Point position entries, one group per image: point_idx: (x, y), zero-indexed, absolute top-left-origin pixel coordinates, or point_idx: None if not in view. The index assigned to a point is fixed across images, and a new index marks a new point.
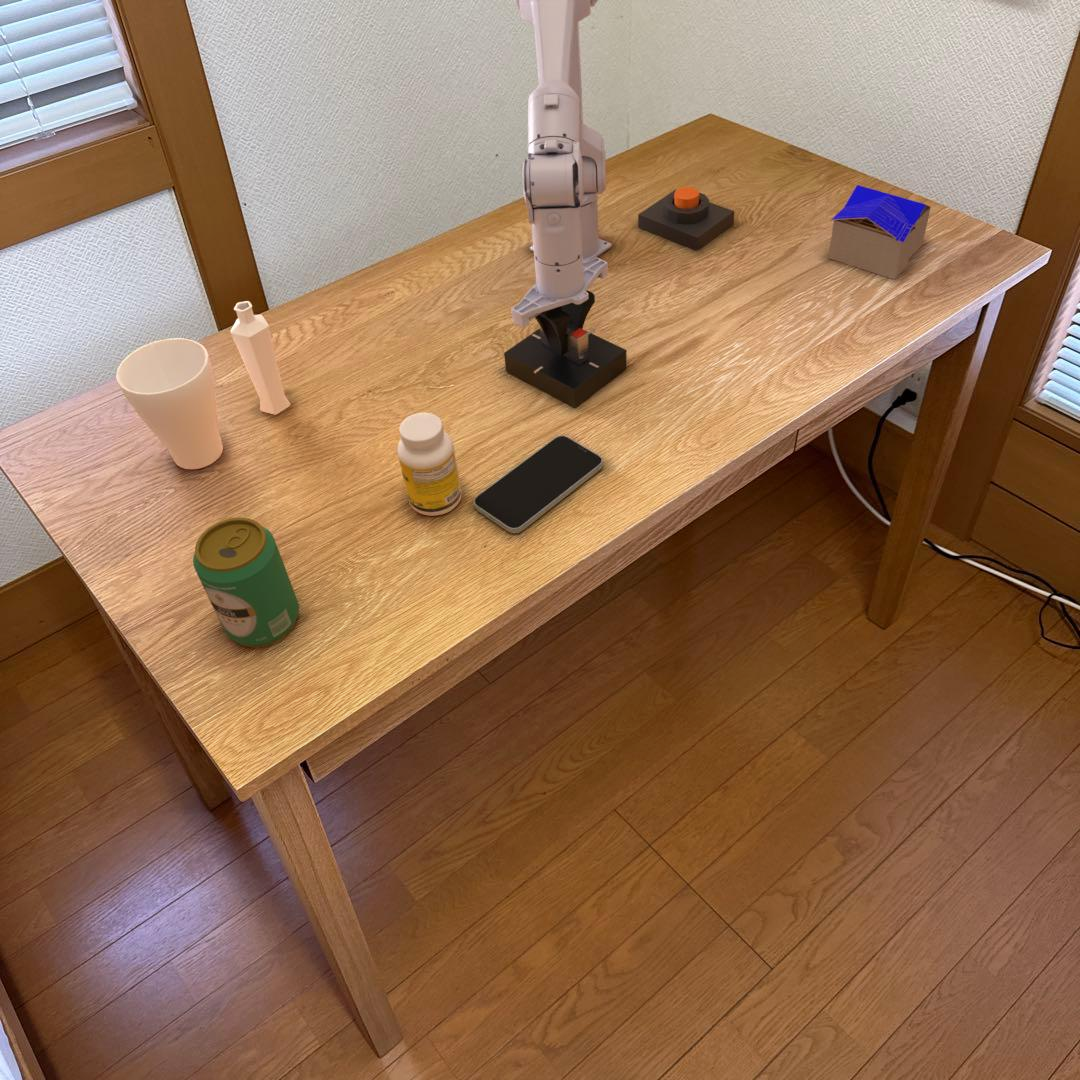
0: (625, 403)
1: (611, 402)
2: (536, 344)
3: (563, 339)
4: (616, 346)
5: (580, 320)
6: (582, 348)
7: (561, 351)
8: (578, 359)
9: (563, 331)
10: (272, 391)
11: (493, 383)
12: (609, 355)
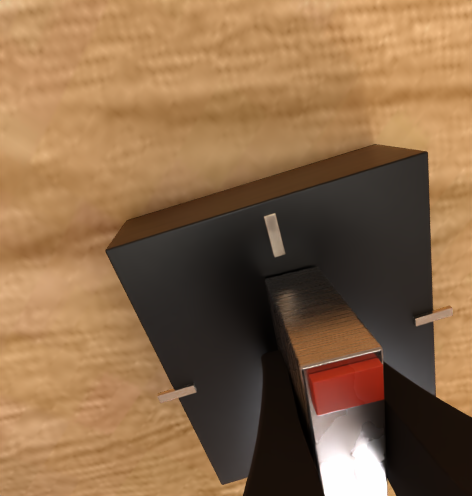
0: (228, 55)
1: (266, 95)
2: None
3: (394, 384)
4: (130, 288)
5: (303, 463)
6: (321, 307)
7: None
8: (328, 280)
9: (438, 426)
10: None
11: (445, 351)
12: (185, 256)
